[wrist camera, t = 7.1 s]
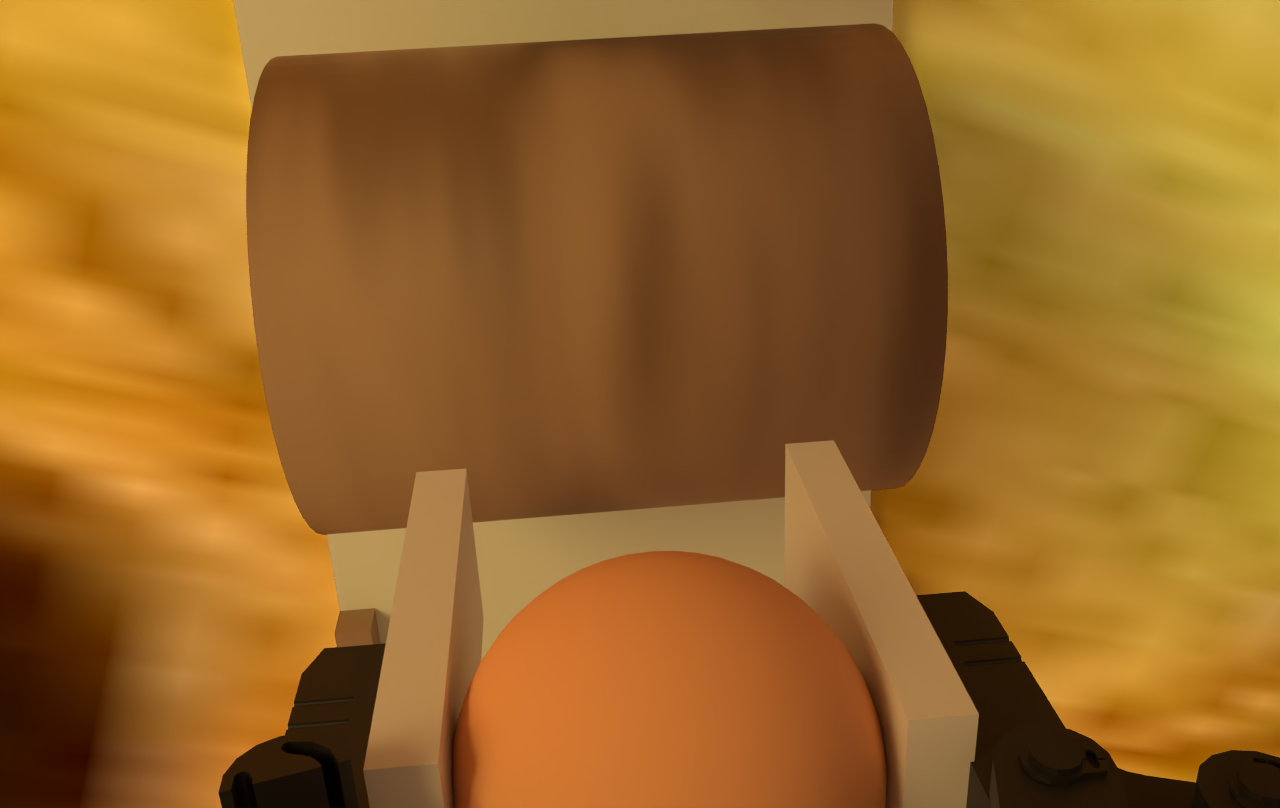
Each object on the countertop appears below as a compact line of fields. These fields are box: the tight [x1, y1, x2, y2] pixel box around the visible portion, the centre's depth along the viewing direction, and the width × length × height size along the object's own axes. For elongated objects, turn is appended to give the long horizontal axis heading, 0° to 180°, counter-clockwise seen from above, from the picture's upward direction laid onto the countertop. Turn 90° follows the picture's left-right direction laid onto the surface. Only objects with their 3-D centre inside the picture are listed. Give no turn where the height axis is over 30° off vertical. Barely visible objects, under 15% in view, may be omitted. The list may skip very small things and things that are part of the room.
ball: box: [452, 551, 887, 808], centre depth 14 cm, size 5×5×5 cm
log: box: [246, 23, 948, 535], centre depth 23 cm, size 11×9×9 cm
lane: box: [233, 0, 894, 661], centre depth 28 cm, size 14×35×5 cm, turn 2°
